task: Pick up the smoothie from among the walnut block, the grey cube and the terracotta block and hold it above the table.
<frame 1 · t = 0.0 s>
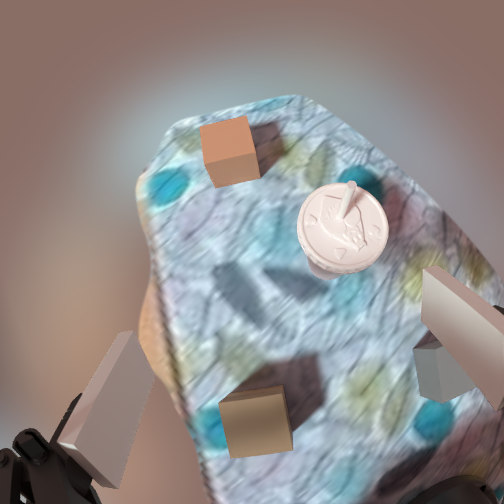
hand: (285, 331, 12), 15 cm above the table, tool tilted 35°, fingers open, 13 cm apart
smoothie: (327, 262, 29), on the table
terracotta block: (234, 165, 33), on the table
grey cube: (437, 364, 24), on the table
walnut block: (261, 413, 25), on the table
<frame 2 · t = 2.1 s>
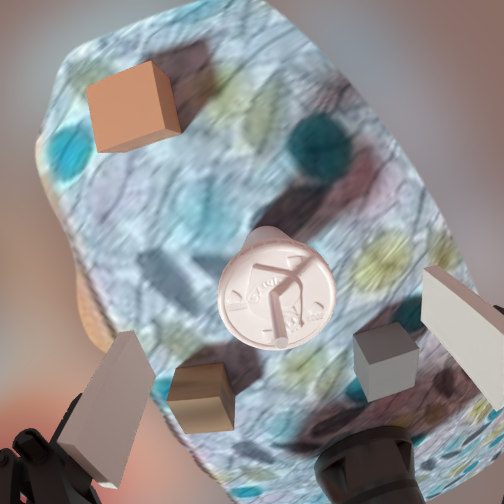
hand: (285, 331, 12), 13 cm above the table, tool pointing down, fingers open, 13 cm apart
smoothie: (266, 247, 25), on the table
terracotta block: (146, 114, 21), on the table
grey cube: (375, 347, 28), on the table
walnut block: (206, 382, 29), on the table
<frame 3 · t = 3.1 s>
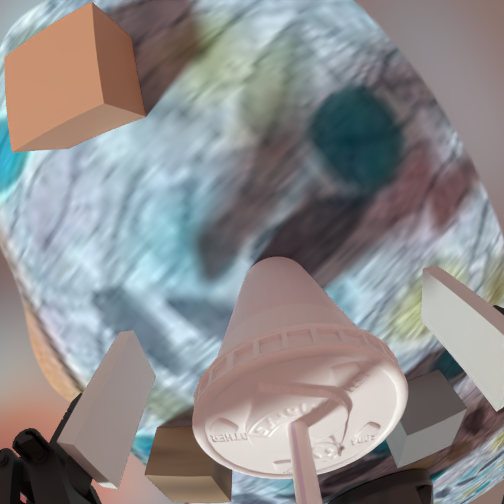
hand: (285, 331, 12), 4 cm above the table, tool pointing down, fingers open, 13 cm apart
smoothie: (276, 287, 17), on the table
terracotta block: (97, 91, 13), on the table
grey cube: (408, 398, 20), on the table
walnut block: (196, 442, 21), on the table
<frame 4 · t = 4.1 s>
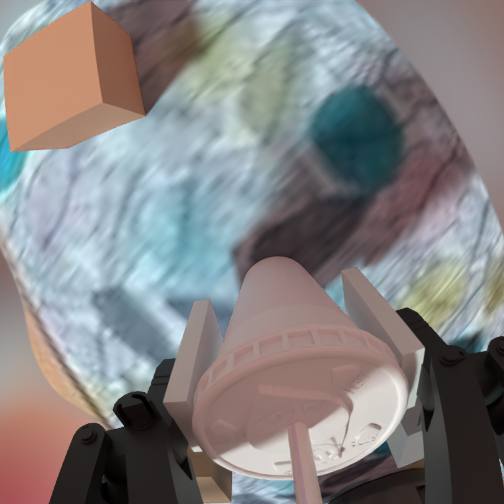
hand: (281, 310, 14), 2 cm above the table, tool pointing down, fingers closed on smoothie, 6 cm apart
smoothie: (276, 287, 16), on the table, touching gripper
terracotta block: (96, 91, 13), on the table
grey cube: (409, 399, 20), on the table
walnut block: (196, 443, 21), on the table
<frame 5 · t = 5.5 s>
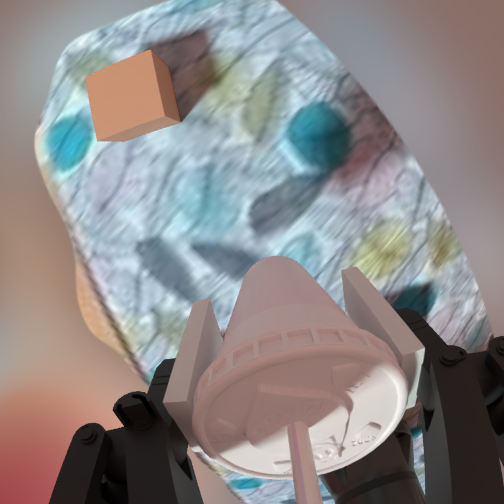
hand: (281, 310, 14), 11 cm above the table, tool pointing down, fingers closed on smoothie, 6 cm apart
smoothie: (276, 286, 16), point 9 cm above the table, touching gripper
terracotta block: (145, 103, 21), on the table
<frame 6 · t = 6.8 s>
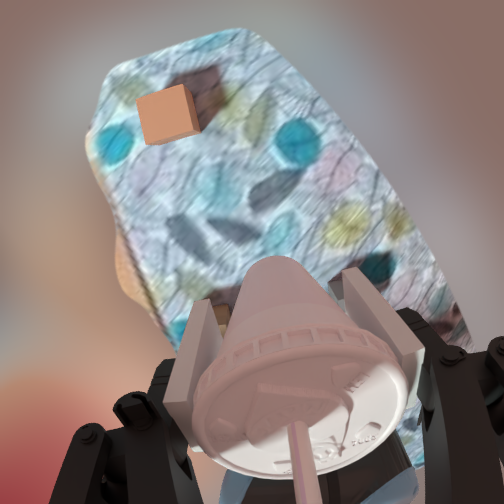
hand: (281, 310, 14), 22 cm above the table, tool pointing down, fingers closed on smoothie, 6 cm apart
smoothie: (276, 286, 16), point 19 cm above the table, touching gripper
terracotta block: (175, 118, 31), on the table
grey cube: (347, 294, 38), on the table
walnut block: (214, 322, 39), on the table
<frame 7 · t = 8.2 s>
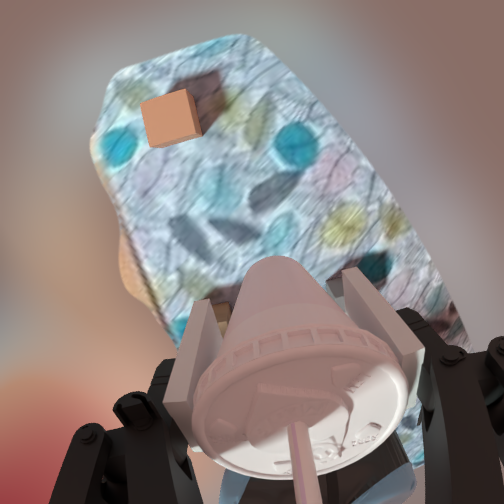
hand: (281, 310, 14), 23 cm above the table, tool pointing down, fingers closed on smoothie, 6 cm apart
smoothie: (276, 286, 16), point 20 cm above the table, touching gripper
terracotta block: (177, 122, 32), on the table
grey cube: (344, 293, 39), on the table
walnut block: (215, 320, 40), on the table
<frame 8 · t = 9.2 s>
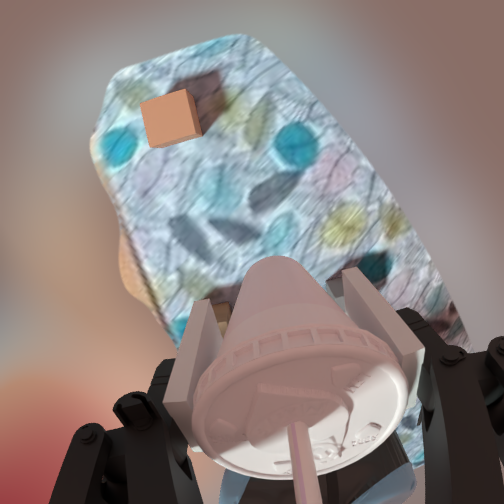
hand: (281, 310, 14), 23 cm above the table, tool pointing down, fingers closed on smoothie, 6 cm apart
smoothie: (276, 286, 16), point 20 cm above the table, touching gripper
terracotta block: (177, 122, 32), on the table
grey cube: (344, 293, 39), on the table
walnut block: (215, 320, 40), on the table
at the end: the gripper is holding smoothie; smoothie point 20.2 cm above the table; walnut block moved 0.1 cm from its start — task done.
